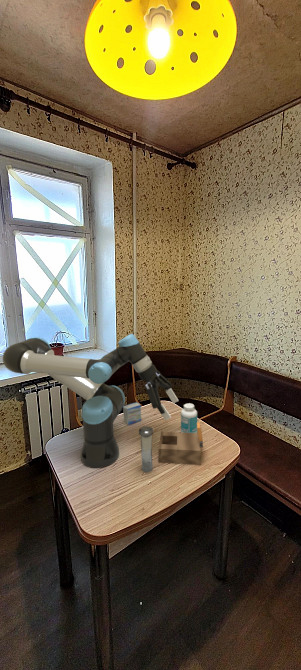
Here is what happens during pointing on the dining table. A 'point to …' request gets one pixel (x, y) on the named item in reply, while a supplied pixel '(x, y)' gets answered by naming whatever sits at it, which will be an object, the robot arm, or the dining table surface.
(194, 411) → the pill bottle
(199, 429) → the plate
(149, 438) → the steel pin
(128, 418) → the medicine box
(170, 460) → the block
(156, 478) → the dining table surface
